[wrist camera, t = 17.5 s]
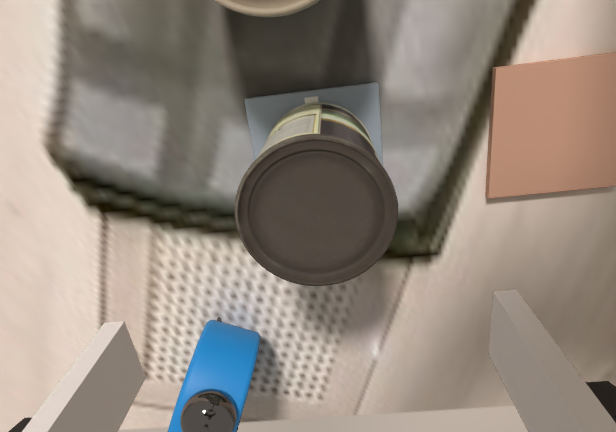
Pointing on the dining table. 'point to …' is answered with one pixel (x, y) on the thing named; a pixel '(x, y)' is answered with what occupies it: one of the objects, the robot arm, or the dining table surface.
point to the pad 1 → (351, 97)
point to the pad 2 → (552, 126)
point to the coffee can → (317, 198)
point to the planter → (267, 6)
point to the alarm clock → (216, 380)
